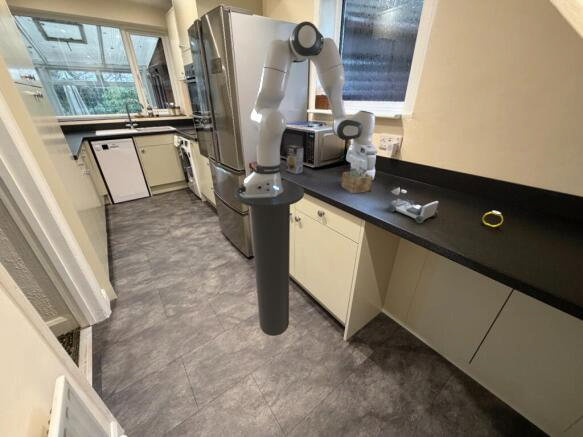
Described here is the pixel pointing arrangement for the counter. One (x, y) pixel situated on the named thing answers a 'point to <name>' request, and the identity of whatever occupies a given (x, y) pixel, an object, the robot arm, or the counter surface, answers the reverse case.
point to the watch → (494, 214)
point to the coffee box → (294, 159)
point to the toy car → (413, 207)
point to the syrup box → (355, 168)
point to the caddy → (356, 183)
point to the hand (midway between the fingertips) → (357, 174)
